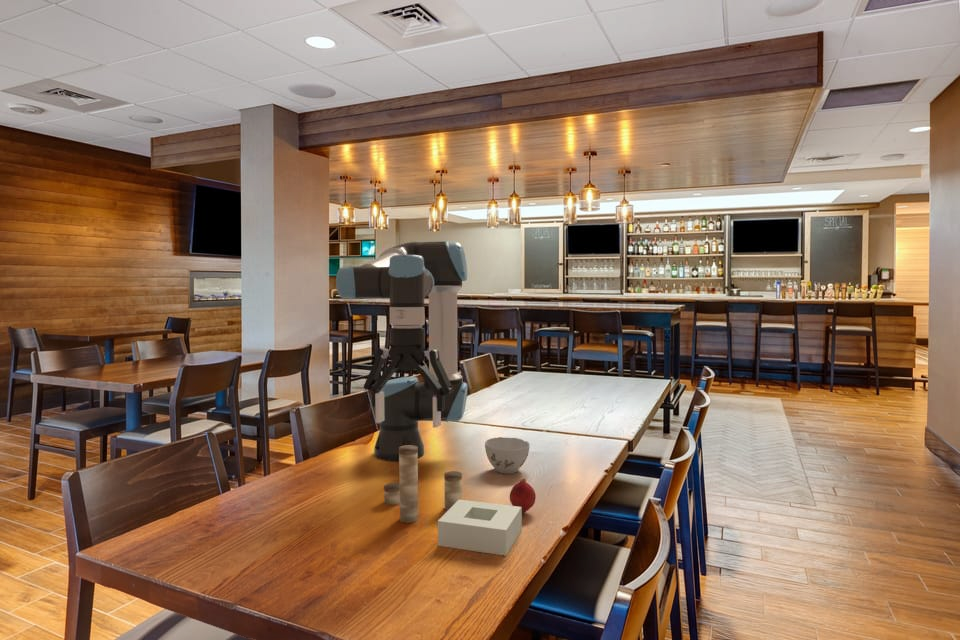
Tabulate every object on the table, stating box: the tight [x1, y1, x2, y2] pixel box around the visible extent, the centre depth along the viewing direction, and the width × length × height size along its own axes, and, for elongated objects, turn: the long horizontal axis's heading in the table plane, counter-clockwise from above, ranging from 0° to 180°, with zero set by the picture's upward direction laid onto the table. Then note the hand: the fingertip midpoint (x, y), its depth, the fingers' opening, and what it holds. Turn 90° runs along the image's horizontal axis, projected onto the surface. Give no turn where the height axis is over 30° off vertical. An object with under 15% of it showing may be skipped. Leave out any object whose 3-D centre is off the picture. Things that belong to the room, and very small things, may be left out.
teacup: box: [484, 436, 530, 475], centre depth 159 cm, size 15×12×8 cm
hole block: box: [437, 499, 523, 557], centre depth 115 cm, size 14×12×5 cm
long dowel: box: [398, 445, 419, 524], centre depth 125 cm, size 4×4×16 cm
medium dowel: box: [443, 470, 463, 512], centre depth 131 cm, size 4×4×8 cm
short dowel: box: [383, 482, 400, 506], centre depth 135 cm, size 4×4×4 cm
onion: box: [509, 477, 537, 514], centre depth 128 cm, size 6×6×8 cm
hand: (408, 424), depth 124 cm, fingers open, 13 cm apart
